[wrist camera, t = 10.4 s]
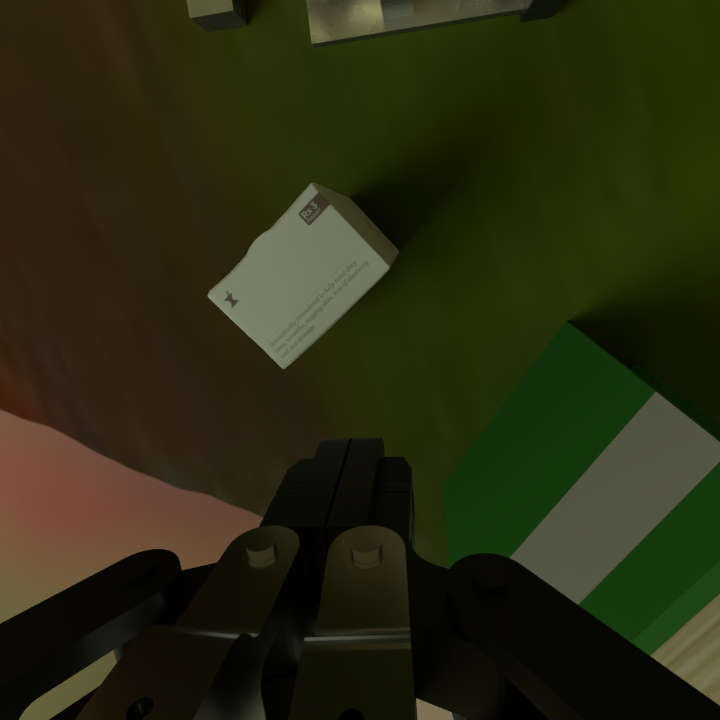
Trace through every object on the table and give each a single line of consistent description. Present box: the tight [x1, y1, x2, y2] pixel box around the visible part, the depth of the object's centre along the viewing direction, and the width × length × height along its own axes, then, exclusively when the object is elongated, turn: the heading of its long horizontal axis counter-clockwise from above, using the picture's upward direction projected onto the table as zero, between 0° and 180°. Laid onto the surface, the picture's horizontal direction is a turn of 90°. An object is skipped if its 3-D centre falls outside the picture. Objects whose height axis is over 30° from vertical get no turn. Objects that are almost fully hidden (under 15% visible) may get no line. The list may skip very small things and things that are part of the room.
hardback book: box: [442, 321, 720, 705], centre depth 30 cm, size 18×7×24 cm, turn 150°
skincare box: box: [208, 183, 399, 369], centre depth 31 cm, size 8×6×15 cm
